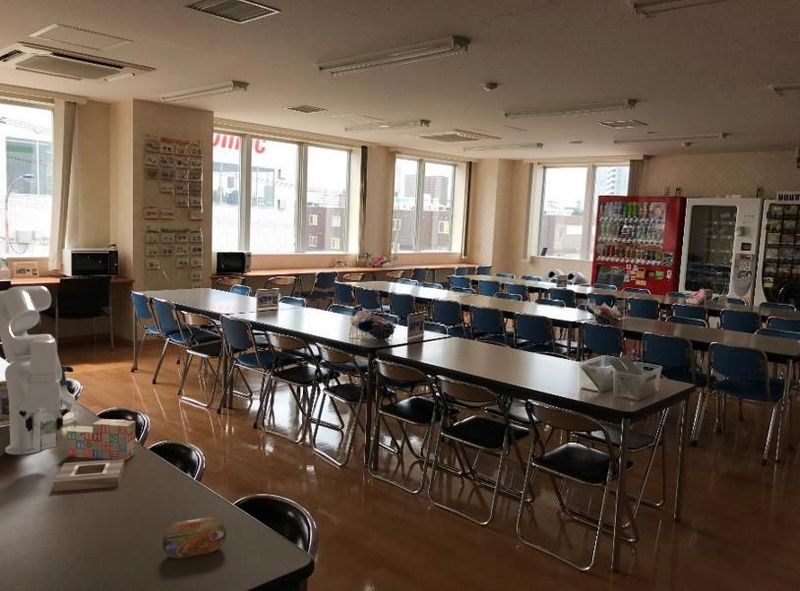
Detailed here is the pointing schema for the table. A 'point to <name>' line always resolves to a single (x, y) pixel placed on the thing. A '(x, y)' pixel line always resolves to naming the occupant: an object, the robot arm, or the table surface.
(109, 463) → the socket board
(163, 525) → the table surface
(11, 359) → the robot arm
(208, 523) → the tin
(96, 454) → the stack of blocks
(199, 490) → the table surface
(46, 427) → the syrup box
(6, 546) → the table surface
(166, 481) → the table surface
